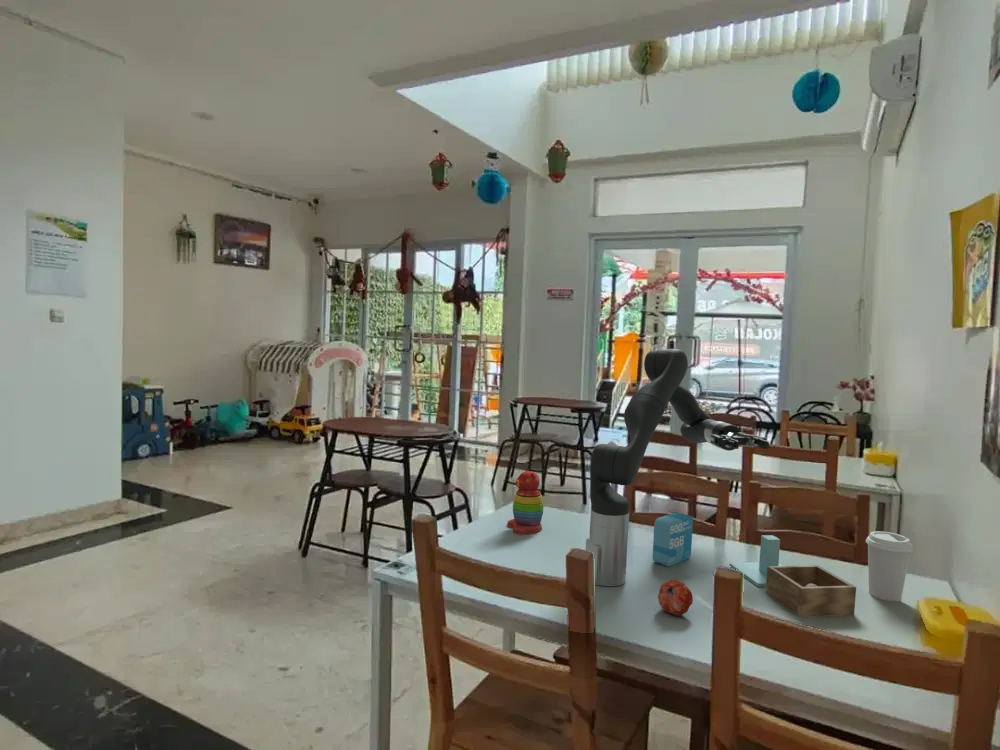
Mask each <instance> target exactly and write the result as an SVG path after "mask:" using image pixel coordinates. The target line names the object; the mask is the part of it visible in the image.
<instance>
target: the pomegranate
mask: <svg viewBox="0 0 1000 750" xmlns="http://www.w3.org/2000/svg"><path fill="white" fill-rule="evenodd" d="M658 591H659V592H658V594H657V598H658V603H659V605H660V607H661V609H662V610H663V611H665V612H667V613H670V614H672V615H674V616H676V617H680V616H682V615H684V614H686V613H688V611H689V609H690V607H691V605H693V601H694V600H693V599H694V597H693V593H692V591H691V589H690V588H689V587H688V586H687V585H686V584H685V582H684V581H683V580H680V579H679V578H678V579H670V580H669V581H667V582H664V583H662V584H661V586H660V588H659V590H658Z"/></svg>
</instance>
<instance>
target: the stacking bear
mask: <svg viewBox="0 0 1000 750" xmlns="http://www.w3.org/2000/svg"><path fill="white" fill-rule="evenodd" d="M515 485H516V487H517V488H518V490H516V493H515V495H514V499H513V503H512V513H513V518H511V519H509V520H508V521H507V523H506V525H507V527H509V528H512V533H513V534H515V535H521V536H522V535H531V534H536V533H539V532H541V531H542V530H543V525H542V518H543V516H544V509H545V508H544V501H543V496H542V494H541V492H540V490H539V489H538V488H539V487H540V477H539V474H538V473H536V472H534V471H530V470H528V469H525V471H523V472H522V473H520V475H518V477H516V479H515Z"/></svg>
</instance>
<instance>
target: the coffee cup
mask: <svg viewBox="0 0 1000 750" xmlns="http://www.w3.org/2000/svg"><path fill="white" fill-rule="evenodd" d="M865 543H866V544H867V557H868V558H867V559H868V560H867V562H868V563H867V565H868V567H867V568H868V594H869V595H871V596H872V597H874V598H876V599H880V600H883V601H888V602H899V603H900V602H902V598H903V592H904V586H905V580H906V576H907V570H908V565H909V560H910V556H911V552H913V551H914V548H913V544H912V543H911V540H910V538H908V537H907V536H904V535H902V534H898V533H894V532H889V531H881V530H880V531H879V530H877V531H871V532H870V533H869V535H868V536H867V537H866V539H865Z"/></svg>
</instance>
